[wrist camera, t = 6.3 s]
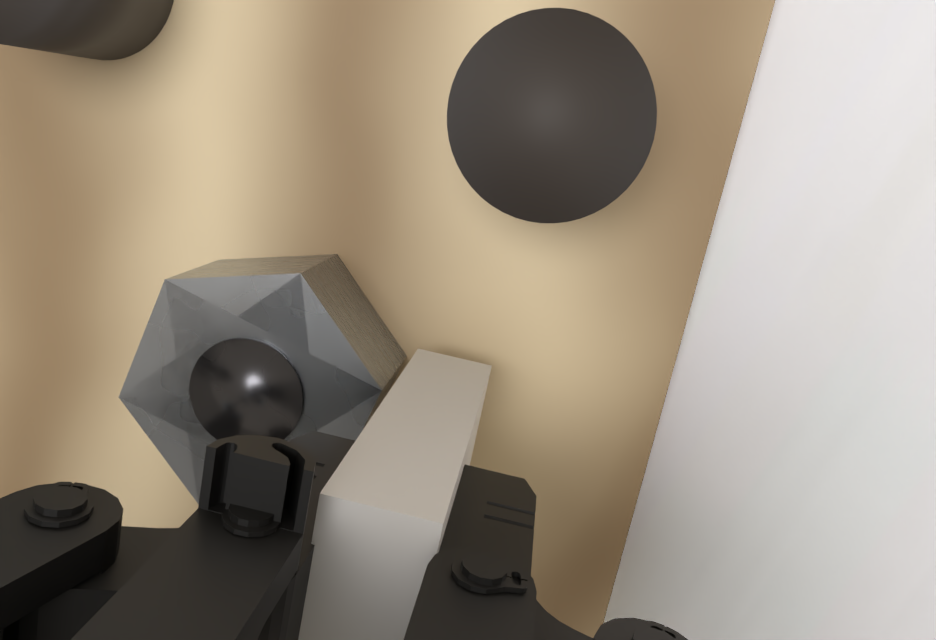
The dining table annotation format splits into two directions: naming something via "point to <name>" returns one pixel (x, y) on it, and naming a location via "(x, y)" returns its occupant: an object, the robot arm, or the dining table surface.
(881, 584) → the dining table surface
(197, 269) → the nut
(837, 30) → the dining table surface
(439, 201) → the board
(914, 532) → the dining table surface
